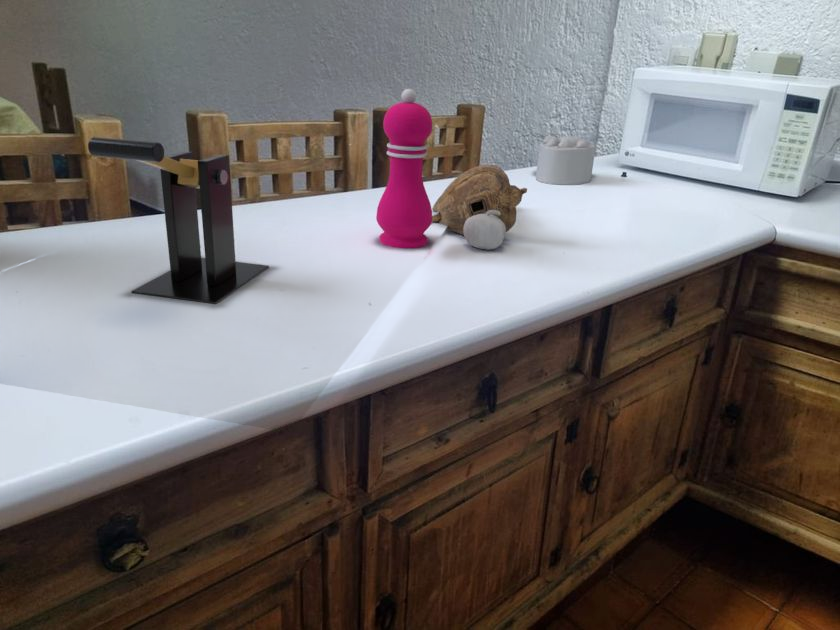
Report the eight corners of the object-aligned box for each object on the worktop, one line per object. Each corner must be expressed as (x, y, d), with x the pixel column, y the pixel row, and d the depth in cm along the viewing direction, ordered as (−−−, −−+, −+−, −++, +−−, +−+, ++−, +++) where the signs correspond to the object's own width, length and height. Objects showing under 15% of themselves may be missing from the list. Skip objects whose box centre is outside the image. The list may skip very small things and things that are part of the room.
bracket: (216, 314, 63) (205, 169, 58) (132, 303, 65) (114, 161, 59) (269, 276, 74) (264, 151, 69) (196, 267, 76) (186, 145, 70)
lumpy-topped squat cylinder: (596, 179, 142) (602, 138, 139) (569, 187, 132) (575, 143, 129) (553, 172, 148) (557, 132, 144) (524, 179, 138) (529, 137, 135)
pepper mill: (436, 245, 89) (445, 89, 81) (423, 260, 82) (431, 92, 75) (384, 239, 90) (389, 85, 83) (368, 253, 84) (371, 88, 76)
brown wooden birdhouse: (410, 189, 91) (514, 156, 86) (445, 161, 113) (530, 134, 108) (432, 256, 94) (534, 228, 89) (462, 216, 116) (546, 193, 111)
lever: (152, 165, 53) (155, 135, 53) (86, 159, 54) (89, 129, 54) (229, 191, 66) (232, 167, 65) (175, 186, 67) (177, 162, 67)
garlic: (512, 247, 90) (516, 209, 88) (494, 256, 85) (498, 216, 83) (473, 239, 93) (476, 202, 91) (454, 247, 88) (457, 209, 86)
